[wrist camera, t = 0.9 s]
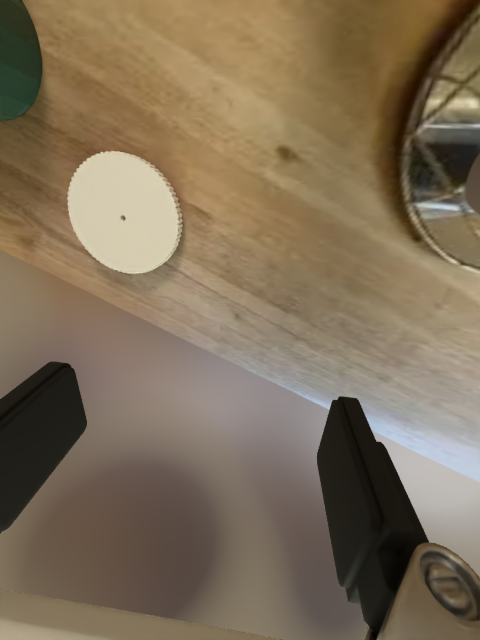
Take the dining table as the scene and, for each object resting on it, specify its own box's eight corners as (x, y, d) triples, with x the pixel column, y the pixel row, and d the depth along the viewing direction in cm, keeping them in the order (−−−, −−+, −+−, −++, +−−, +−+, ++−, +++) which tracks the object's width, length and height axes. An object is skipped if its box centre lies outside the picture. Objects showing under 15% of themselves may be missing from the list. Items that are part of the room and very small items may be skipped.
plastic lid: (175, 281, 38) (169, 286, 36) (79, 252, 38) (67, 256, 36) (194, 174, 32) (188, 172, 30) (81, 138, 32) (66, 134, 30)
